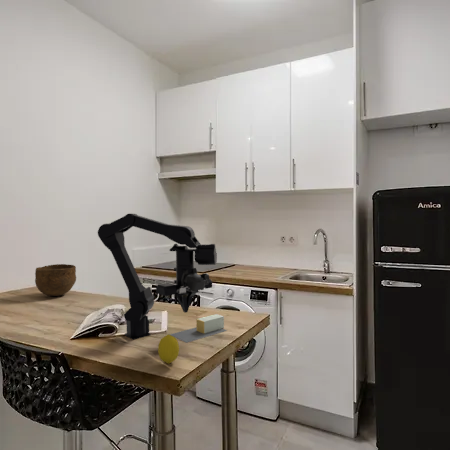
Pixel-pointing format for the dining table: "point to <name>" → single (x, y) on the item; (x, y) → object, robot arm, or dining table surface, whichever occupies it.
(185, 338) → the mat
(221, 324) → the block
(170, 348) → the lemon
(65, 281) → the bowl
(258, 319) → the dining table surface
